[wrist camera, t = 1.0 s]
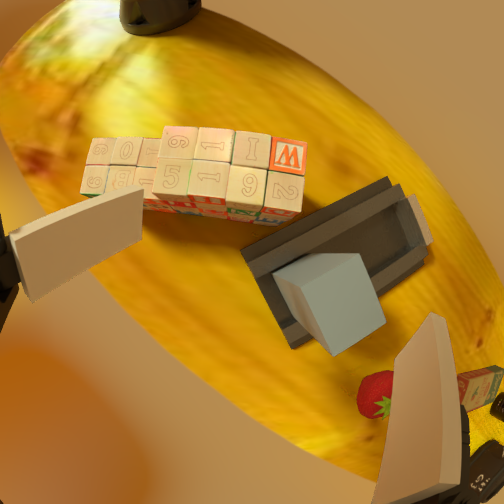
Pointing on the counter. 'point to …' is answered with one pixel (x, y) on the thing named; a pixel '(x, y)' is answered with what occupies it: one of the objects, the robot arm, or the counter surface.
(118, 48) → the counter surface
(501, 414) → the supplement bottle
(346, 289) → the grey rectangular block
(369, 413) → the strawberry
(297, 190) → the stack of blocks
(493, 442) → the wooden barrel
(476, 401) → the carton
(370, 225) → the chute
